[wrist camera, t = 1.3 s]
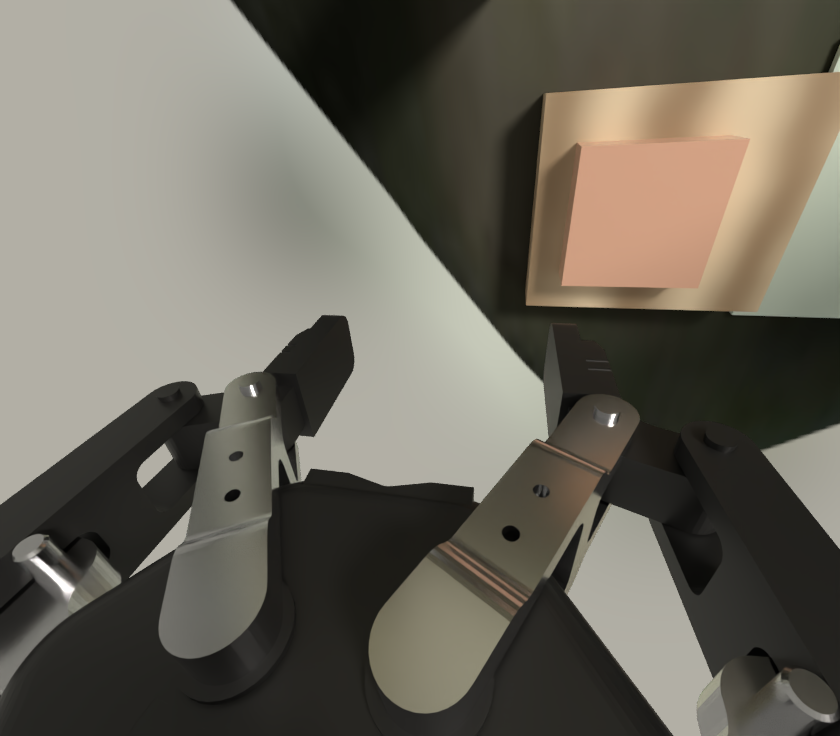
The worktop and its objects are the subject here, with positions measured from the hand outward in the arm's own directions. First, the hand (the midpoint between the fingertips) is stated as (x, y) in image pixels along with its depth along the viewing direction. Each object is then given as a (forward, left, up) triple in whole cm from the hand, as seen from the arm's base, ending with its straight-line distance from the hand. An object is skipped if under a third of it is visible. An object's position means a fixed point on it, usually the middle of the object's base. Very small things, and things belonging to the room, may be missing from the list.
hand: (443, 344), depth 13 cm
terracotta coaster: (-10, 0, -16) cm, 18 cm away
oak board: (-11, 0, -20) cm, 23 cm away
